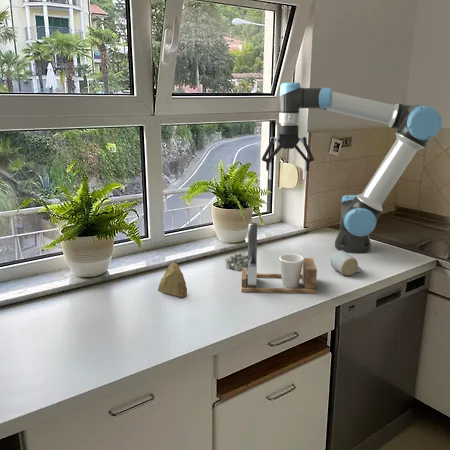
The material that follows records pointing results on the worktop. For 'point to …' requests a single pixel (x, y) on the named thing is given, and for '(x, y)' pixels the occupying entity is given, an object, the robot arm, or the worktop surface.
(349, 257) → the ceramic mug
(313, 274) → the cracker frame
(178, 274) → the rock
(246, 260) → the egg carton
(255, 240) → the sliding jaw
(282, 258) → the dixie cup
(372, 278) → the worktop surface
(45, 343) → the worktop surface
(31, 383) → the worktop surface
